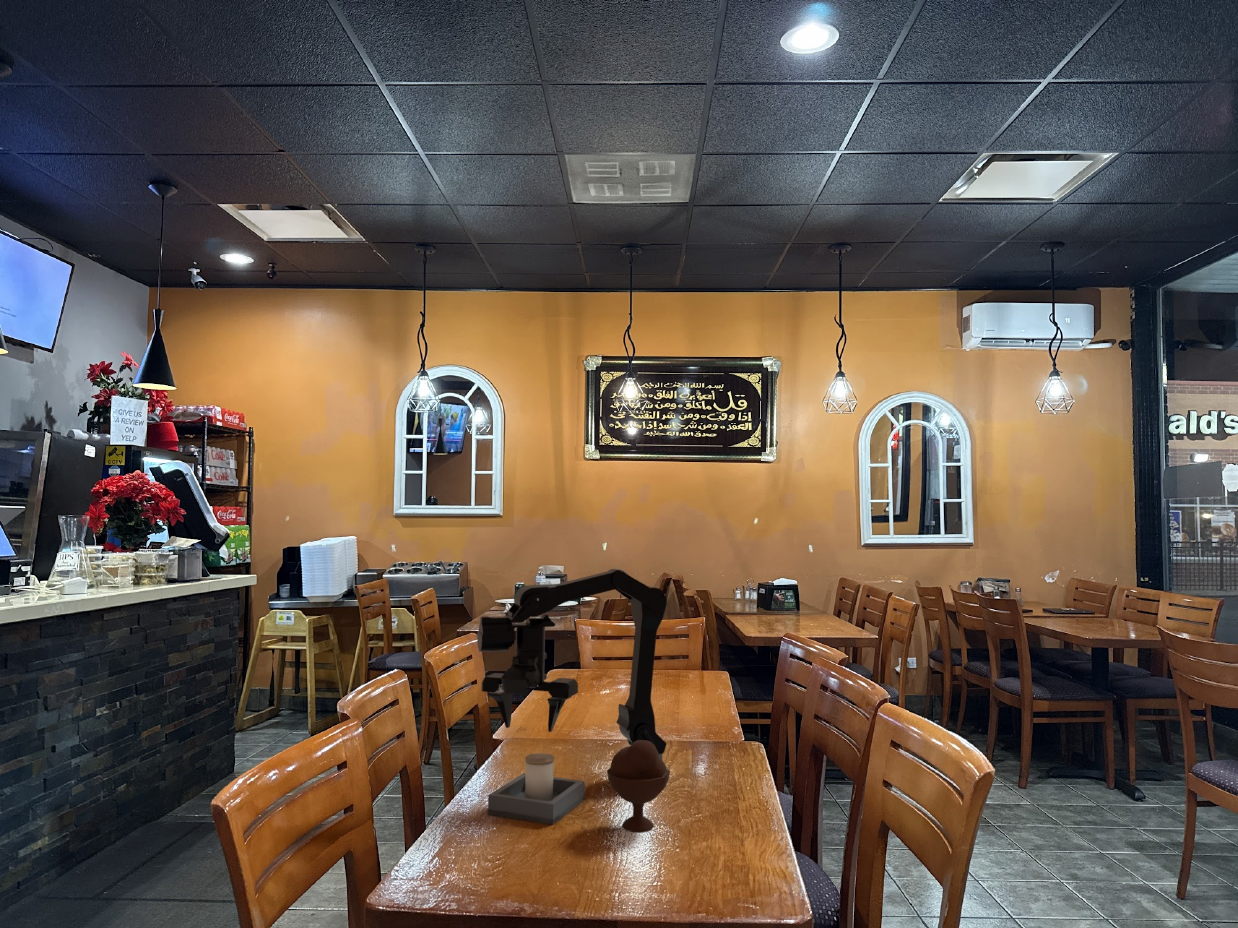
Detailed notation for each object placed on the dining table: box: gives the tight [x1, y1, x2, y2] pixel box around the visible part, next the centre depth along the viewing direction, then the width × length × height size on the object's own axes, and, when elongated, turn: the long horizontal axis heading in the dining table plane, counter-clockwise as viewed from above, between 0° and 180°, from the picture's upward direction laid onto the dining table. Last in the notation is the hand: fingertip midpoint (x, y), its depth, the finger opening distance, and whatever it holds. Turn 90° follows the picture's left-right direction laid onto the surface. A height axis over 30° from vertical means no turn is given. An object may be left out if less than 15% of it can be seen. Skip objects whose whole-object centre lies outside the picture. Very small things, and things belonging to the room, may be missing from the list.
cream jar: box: [524, 752, 555, 801], centre depth 151 cm, size 5×5×8 cm
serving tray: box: [487, 772, 586, 826], centre depth 151 cm, size 13×14×4 cm
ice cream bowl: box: [606, 740, 671, 833], centre depth 142 cm, size 11×11×15 cm
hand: (528, 729), depth 161 cm, fingers open, 9 cm apart
